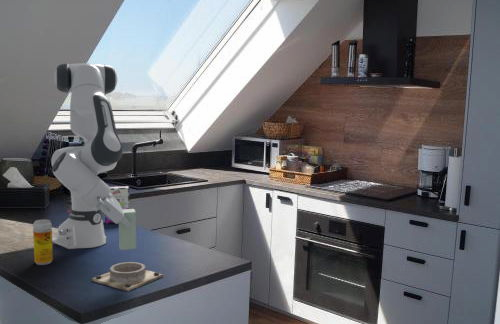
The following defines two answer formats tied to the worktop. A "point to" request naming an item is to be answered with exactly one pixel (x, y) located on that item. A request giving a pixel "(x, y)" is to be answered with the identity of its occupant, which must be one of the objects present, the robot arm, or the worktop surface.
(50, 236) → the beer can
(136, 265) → the bolt socket plate
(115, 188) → the candy bar box
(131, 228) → the green peg
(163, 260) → the worktop surface
